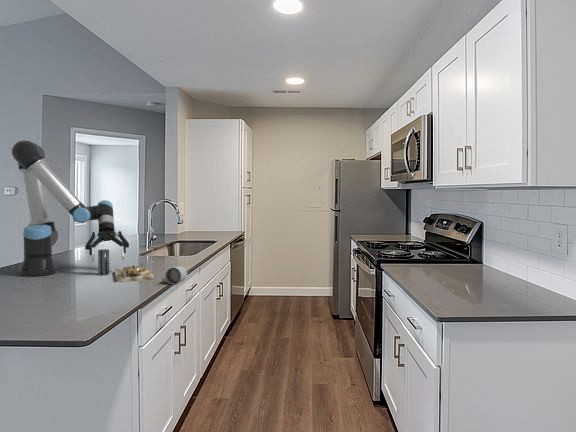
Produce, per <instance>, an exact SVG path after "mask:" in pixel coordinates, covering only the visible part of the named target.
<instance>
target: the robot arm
mask: <svg viewBox="0 0 576 432" xmlns="http://www.w3.org/2000/svg"><path fill="white" fill-rule="evenodd" d="M11 155H12V157H13V159H14V160H15V161H16V162H17V166H18V171H19V172H21V173H23V179H24V185H25V192H26V198H27V203H28V205H27V206H28V210H29V215H30V222H29V223H28V225H27V226H24V228H23V233H22V234H23V261H22V264H21V267H20V270H19V275H20V276H22V277H41V276H42V277H43V276H49V275H53V274H57V266H56V265H55V262H54V259H53V254H52V253H53V246H54V245H55V244H56V243H57V241H58V238H59V233H58V230H57V229H56V225H55V220H54V219H52V218H51V215H50V214H51V213H50V208H49V202H48V195H47V191H48V192H49V193H50V194H51V195H52V196H53V197H54V198H55V199H56V200H57V202H59V203H60V205H61V206H63V208H64V209H65V210H66V211H67V212H68V213H69V214H70V215H71V217H72V220H73V221H74V222H76V223H79V224H84V223H87V222H89V221H98V233H97V232H95V231H92V232H91V236H90V238H89V239H88V241H87V242H86V244H85V245H84V247H85V251H87V250H89V255H90V256H91V259H92V262H95V248H96V247H97V246H98V245H99V244H100V243H102V242H106V241H108V242H110V241H112V242H114V243H115V244H116V245H118V246H119V247H121V249H120V251H121V260H124V259H125V254H126V252H127V250H126V249H127V248H129V247H130V243H129V242H128V240H127V239H126V238H125V237H124V235H123V233H122V231H121V230H118V232H116V231H115V219H114V209H113V203H112V202H111V201H109V200H106V199H105V200H100V201H99V202H98V203H97V205H91V206H89V205H88V206H86V205H84V204H83V203H82V201H80V200H81V199H79V198H78V197H77V196H76V195H75V194H74V192H73V191H72V190H71V189H70V188H69V187H68V186H67V185H66V184H65V182H63V181H62V180H61V179H60V177H59V176H58V175H57V174H56V173H55V172H54V171H53V170H52V169H51V168H50V167H49V165H48V164H47V163H46V162H45V161H46V153H45V150H44V148H42V147H41V145H39V144H37V143H34V142H33V141H30V140H25V139H24V140H19V141H17V142H15V143H14V145H13V146H12V148H11ZM46 189H47V191H46ZM97 237H98V238H97ZM117 237H118V238H117ZM96 238H97V239H96ZM95 239H96V240H95ZM93 241H94V242H93Z"/></svg>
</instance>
